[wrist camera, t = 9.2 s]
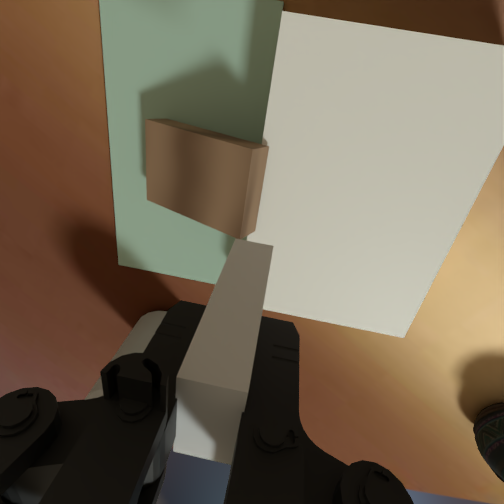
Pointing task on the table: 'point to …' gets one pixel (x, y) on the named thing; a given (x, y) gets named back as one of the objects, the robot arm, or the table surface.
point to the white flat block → (371, 165)
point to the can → (134, 343)
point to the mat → (180, 110)
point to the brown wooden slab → (205, 175)
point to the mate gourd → (491, 437)
